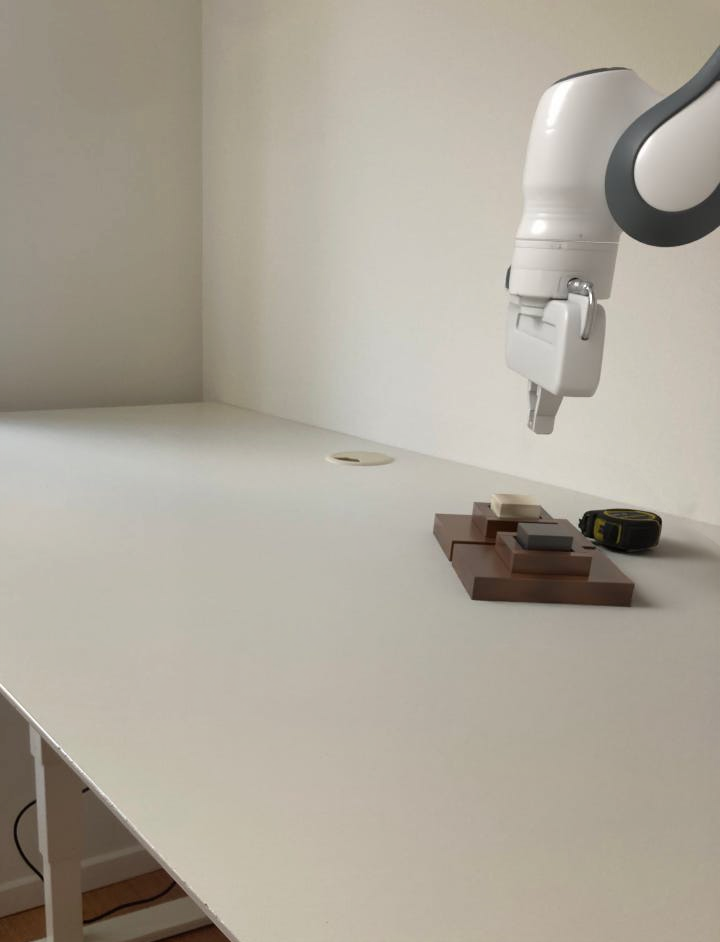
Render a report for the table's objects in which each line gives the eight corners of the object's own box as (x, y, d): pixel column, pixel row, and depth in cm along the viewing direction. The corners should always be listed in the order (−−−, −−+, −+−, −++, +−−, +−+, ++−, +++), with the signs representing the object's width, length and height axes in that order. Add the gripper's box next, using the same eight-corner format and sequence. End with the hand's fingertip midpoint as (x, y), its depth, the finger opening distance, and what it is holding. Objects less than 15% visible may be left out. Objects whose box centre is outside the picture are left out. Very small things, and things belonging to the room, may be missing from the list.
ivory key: (528, 511, 105) (531, 494, 105) (538, 522, 101) (541, 505, 101) (489, 509, 105) (492, 493, 105) (498, 520, 101) (501, 503, 101)
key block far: (563, 538, 109) (569, 502, 108) (592, 568, 100) (599, 528, 99) (432, 533, 109) (436, 496, 108) (449, 561, 100) (454, 522, 99)
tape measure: (627, 536, 111) (634, 502, 110) (671, 555, 105) (679, 519, 104) (574, 540, 109) (580, 506, 108) (616, 559, 103) (623, 523, 102)
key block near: (595, 571, 99) (602, 531, 98) (630, 607, 90) (639, 563, 88) (451, 565, 99) (456, 525, 98) (471, 600, 90) (477, 556, 88)
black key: (558, 542, 95) (561, 524, 94) (570, 555, 91) (573, 536, 91) (515, 540, 95) (518, 522, 94) (525, 553, 91) (528, 534, 91)
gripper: (635, 284, 82) (606, 456, 87) (566, 272, 101) (545, 414, 106) (556, 281, 82) (532, 453, 87) (501, 270, 101) (484, 412, 106)
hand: (539, 431), depth 97 cm, fingers closed
